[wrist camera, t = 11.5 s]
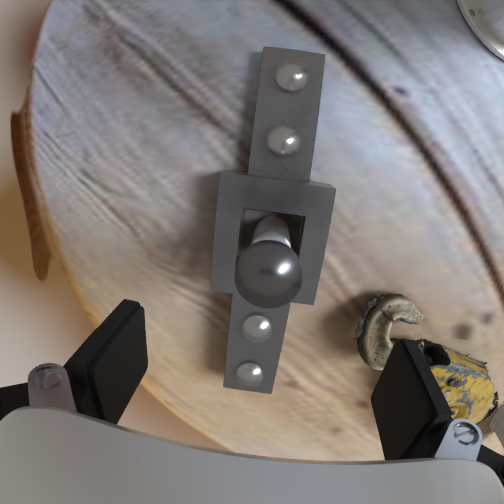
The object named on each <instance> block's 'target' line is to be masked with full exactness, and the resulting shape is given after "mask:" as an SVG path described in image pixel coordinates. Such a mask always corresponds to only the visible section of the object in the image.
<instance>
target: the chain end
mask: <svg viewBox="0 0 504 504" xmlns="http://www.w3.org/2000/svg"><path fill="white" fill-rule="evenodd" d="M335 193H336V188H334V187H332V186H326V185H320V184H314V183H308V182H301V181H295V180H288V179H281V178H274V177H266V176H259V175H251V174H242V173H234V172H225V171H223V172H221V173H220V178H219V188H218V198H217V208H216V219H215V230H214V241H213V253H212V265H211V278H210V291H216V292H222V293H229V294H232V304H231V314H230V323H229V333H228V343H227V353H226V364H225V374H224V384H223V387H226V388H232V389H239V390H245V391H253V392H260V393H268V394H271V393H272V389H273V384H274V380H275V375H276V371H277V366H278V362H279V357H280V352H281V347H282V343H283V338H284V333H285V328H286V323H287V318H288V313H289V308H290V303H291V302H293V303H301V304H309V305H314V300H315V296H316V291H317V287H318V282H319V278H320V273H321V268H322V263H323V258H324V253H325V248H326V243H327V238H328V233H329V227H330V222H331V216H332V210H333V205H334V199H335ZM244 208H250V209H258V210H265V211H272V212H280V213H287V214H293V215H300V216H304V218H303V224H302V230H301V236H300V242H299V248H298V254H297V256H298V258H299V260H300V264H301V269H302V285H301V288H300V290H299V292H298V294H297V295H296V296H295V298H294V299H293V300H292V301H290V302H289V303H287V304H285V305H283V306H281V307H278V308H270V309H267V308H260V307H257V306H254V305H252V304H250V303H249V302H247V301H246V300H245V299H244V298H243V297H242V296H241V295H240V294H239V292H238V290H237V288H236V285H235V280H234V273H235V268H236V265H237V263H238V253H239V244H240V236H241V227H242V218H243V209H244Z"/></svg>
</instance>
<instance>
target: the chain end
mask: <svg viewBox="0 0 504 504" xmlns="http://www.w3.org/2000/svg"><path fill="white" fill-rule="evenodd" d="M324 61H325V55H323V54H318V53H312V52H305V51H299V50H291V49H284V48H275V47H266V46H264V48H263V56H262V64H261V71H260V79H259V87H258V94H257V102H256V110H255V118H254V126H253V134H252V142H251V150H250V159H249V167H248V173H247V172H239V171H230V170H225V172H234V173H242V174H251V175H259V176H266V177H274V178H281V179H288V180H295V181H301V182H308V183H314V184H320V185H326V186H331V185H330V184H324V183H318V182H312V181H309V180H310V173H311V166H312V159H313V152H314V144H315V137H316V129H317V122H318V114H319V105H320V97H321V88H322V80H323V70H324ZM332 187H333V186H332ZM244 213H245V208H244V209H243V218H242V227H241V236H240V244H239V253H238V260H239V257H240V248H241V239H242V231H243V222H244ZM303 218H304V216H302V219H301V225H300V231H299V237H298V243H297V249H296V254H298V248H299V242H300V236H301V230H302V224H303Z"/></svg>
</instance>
